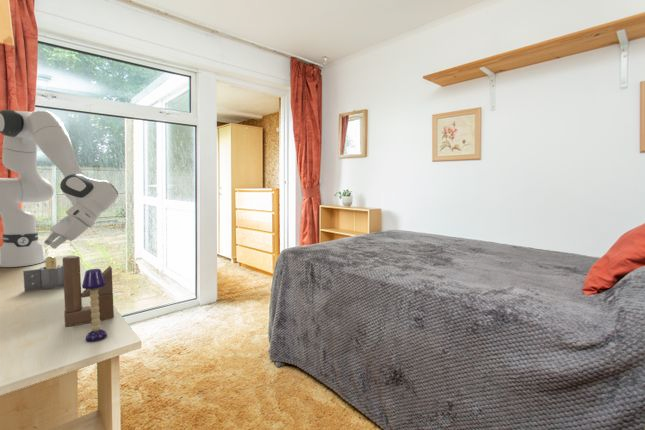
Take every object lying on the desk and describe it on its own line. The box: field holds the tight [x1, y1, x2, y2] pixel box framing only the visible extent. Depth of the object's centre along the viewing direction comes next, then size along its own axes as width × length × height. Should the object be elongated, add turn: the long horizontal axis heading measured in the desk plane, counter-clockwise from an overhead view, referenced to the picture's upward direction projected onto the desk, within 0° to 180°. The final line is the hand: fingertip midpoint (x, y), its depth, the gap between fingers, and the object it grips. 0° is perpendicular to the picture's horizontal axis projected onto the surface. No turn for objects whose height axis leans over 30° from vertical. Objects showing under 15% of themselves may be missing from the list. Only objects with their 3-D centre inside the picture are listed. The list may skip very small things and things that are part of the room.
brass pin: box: [44, 255, 57, 269], centre depth 120 cm, size 3×3×11 cm
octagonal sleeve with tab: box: [22, 264, 64, 292], centre depth 120 cm, size 6×15×7 cm, turn 139°
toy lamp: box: [81, 268, 108, 343], centre depth 80 cm, size 5×5×17 cm
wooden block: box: [62, 255, 115, 327], centre depth 90 cm, size 4×11×18 cm, turn 128°
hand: (48, 245), depth 119 cm, fingers open, 8 cm apart
